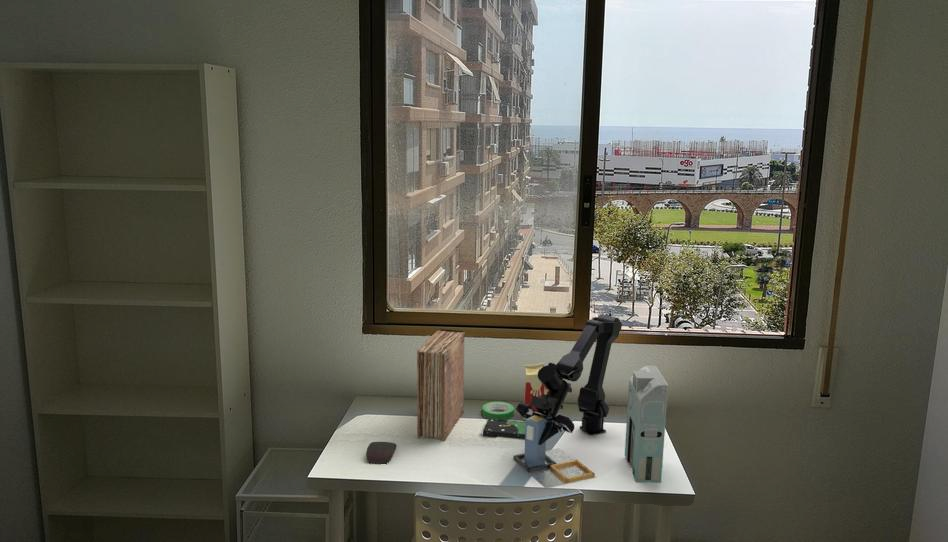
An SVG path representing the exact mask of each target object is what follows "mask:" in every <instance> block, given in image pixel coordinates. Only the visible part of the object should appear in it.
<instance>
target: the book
mask: <svg viewBox="0 0 948 542" xmlns="http://www.w3.org/2000/svg"><path fill="white" fill-rule="evenodd" d="M416 355H417V357H416V360H417V361H416V362H417V363H416V364H417V365H416V371H417V372H416V374H417V375H416V377H417V379H416V382H417V383H416V385H417V387H416V388H417V391H416V393H417V394H416V396H417V397H416V400H417V402H416V405H417V406H416V408H417V409H416V412H417V413H416V416H417V417H416V418H417V419H416V420H417V421H416V422H417V425H416V426H417V427H416V428H417V429H416V431H417V432H416V433H417V439H420V438H421V437H422V438H429V439H430V438H431V439H437V440H438V439H439V440H442V442H445V441H446V440H447V438H448V437H449V435H450V434H451V433H452V432H453V430H454V428H455V426H456V425H457V424H458V422H459V420H460V419H459V418H461V417H462V416H463V414H464V411H465V409H464V407H465V395H464V392H465V330H453V329H445V328H444V329H443V328H438V329H437V330H436V331H435V332H434V334H432V335H431V336H430V337H429V339H428V340H426V341H425V342H424V343H423V344H422V345H421V346H420V347H419V348H418V349H417V353H416ZM457 421H458V422H457ZM455 424H456V425H455Z"/></svg>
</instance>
